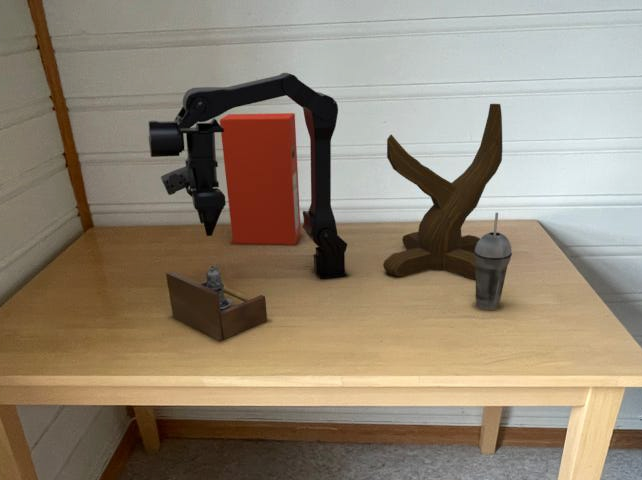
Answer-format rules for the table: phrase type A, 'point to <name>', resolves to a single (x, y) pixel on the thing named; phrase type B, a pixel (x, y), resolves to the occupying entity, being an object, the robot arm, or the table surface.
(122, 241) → the table surface
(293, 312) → the table surface
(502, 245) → the beverage cup
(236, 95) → the robot arm
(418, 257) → the wooden stand
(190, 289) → the spice rack
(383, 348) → the table surface
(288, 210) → the file binder
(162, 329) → the table surface
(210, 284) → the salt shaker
